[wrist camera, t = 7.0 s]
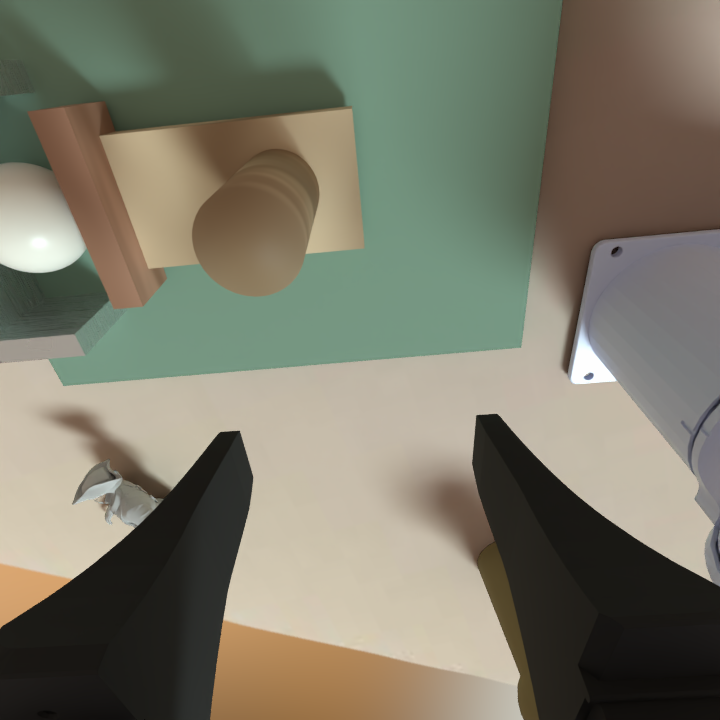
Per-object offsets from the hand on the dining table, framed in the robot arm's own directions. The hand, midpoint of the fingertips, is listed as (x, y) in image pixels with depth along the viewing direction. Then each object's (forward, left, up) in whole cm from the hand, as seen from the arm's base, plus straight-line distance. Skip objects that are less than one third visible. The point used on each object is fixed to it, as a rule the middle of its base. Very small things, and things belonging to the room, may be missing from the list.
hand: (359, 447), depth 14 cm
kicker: (+4, -6, -9) cm, 12 cm away
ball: (+12, -6, -7) cm, 15 cm away
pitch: (+4, -6, -10) cm, 13 cm away
